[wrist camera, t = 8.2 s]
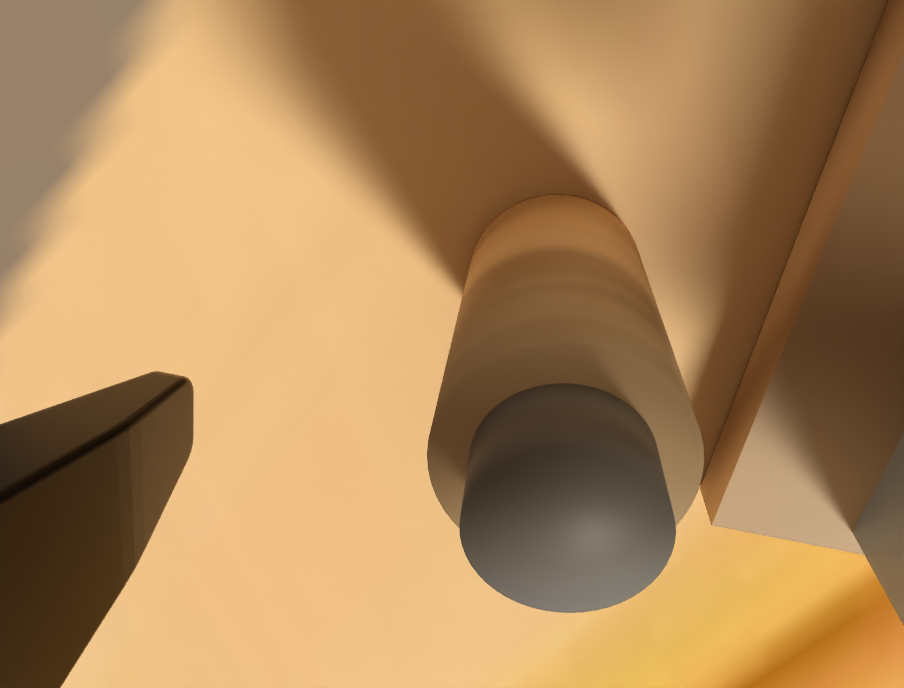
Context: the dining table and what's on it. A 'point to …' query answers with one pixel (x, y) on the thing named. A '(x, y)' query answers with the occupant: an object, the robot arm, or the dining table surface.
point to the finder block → (886, 530)
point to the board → (829, 338)
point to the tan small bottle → (563, 413)
